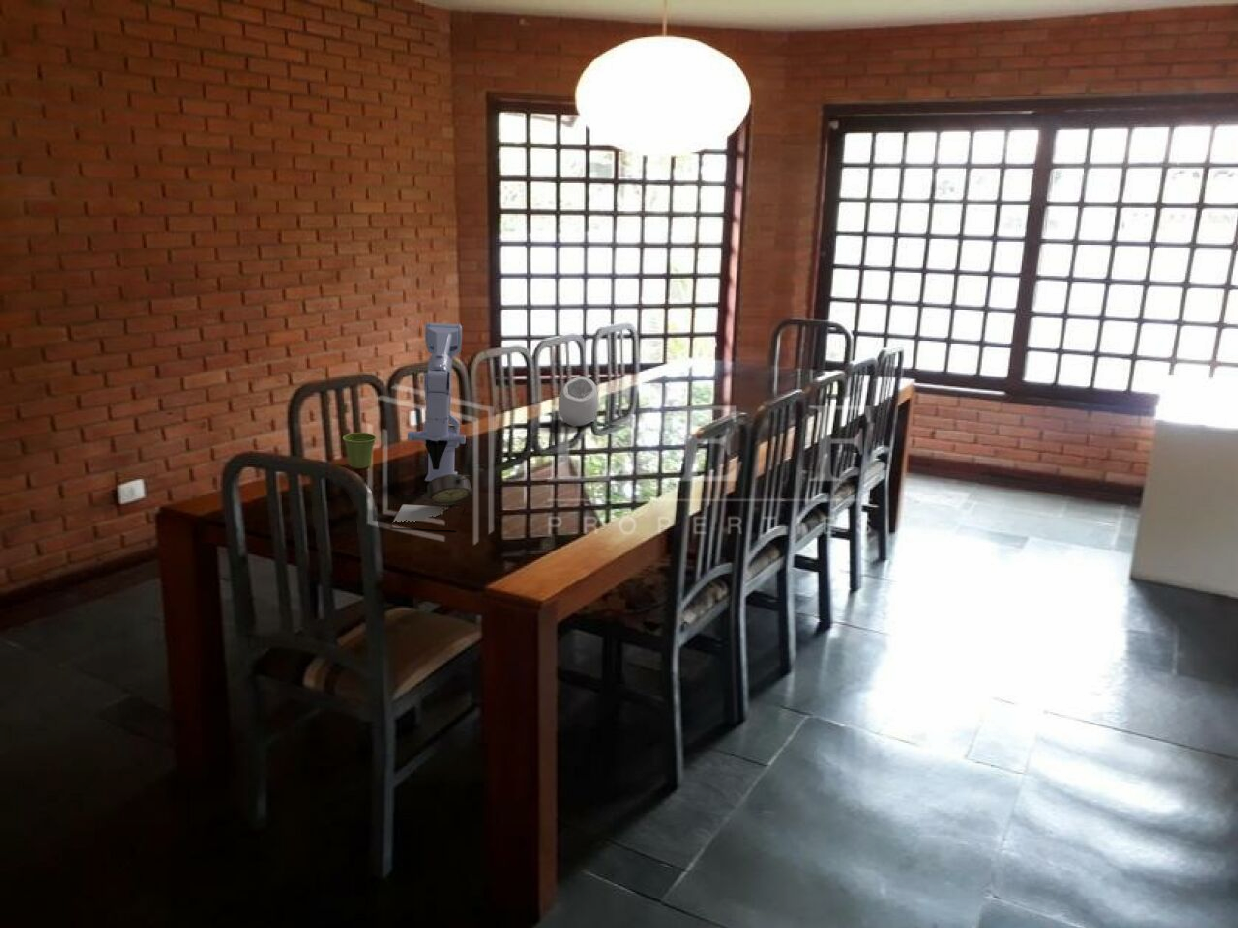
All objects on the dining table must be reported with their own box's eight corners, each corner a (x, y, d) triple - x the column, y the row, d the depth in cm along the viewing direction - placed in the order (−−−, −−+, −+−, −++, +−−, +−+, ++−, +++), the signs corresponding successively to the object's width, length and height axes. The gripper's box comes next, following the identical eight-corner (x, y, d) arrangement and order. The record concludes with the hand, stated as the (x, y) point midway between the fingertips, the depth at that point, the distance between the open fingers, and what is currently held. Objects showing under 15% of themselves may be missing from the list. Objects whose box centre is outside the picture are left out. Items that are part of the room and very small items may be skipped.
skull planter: (604, 411, 353) (602, 371, 340) (593, 448, 339) (591, 407, 326) (568, 408, 355) (565, 367, 342) (556, 443, 341) (552, 403, 328)
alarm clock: (420, 506, 244) (447, 484, 232) (418, 487, 246) (444, 463, 234) (458, 507, 251) (487, 485, 239) (456, 488, 253) (484, 465, 241)
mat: (403, 506, 246) (403, 504, 246) (465, 509, 247) (465, 507, 247) (390, 527, 231) (390, 526, 231) (456, 531, 231) (456, 529, 231)
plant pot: (341, 470, 271) (341, 441, 268) (344, 460, 280) (344, 432, 277) (375, 470, 273) (375, 441, 270) (377, 461, 282) (377, 433, 279)
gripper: (405, 419, 238) (405, 471, 242) (463, 423, 239) (462, 474, 243) (410, 412, 245) (410, 463, 249) (467, 416, 246) (465, 466, 249)
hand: (436, 468), depth 246 cm, fingers closed
